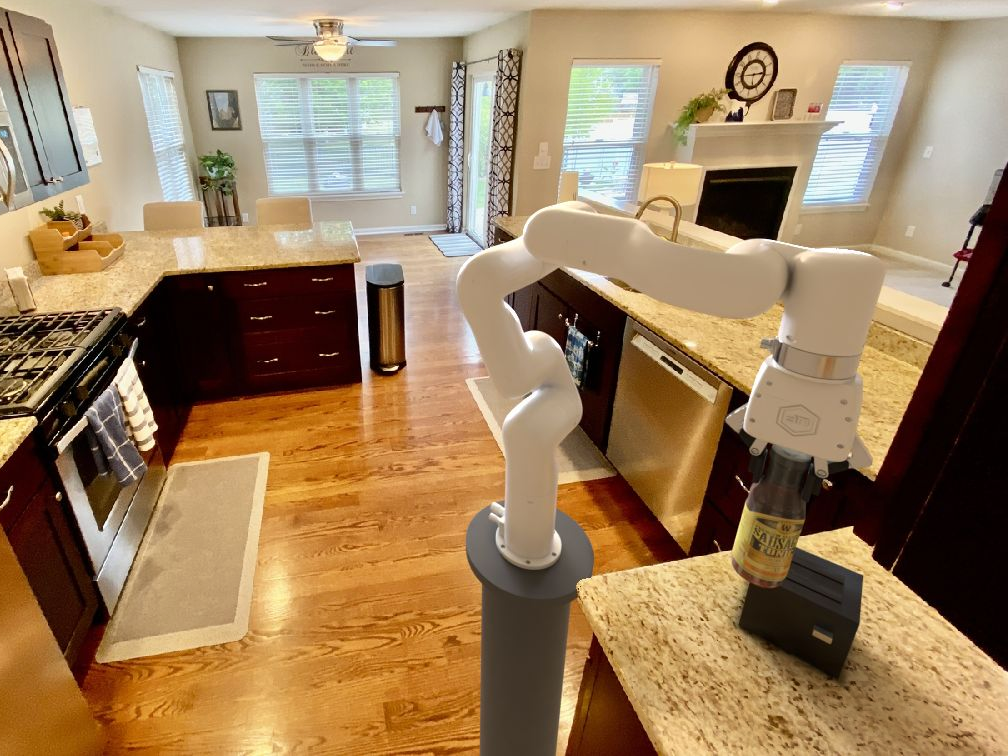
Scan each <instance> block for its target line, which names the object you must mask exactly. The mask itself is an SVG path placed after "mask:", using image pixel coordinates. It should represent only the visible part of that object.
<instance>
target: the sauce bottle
mask: <svg viewBox="0 0 1008 756" xmlns="http://www.w3.org/2000/svg"><path fill="white" fill-rule="evenodd" d="M768 452H769V453H768V454H769V457H770V458H769V462H768V464H767V467H766V470H765V474H764V475H761V478H760V481H759V483H753V482H752V484H751V486H750V488H749V492H748V496H747V498H746V499H745V502H744V506H743V510H742V513H741V518H740V521H739V525H738V528H737V532H736V536H735V539H734V543H733V545H732V546H733V547H732V551H731V566H732V567H733V569H734V571H735V573H736V574H737V575H738V576H739V577H741V578H742V579H744V580H745V581H746V582H748V583H749V582H750V583H752V584H754V585H757V586H760V587H764V588H774V587H777V586H780V585H781V584H782V583H783V580H784V579H785V578H786V576H787V573H788V570H789V567H790V564H791V561H792V558H793V554H794V551H795V548H796V547H797V544H798V543H799V539H800V535H801V533H802V530H803V527H804V523H805V520H806V509H807V502H805V501H803V499H802V495H803V491H804V487H803V486H804V479H805V477H806V473H807V470H809V469H810V465H811V464H812V459H813V458H812V457H813V456H810V455H807V454H804V453H800V452H797V451H794V450H791V449H788V448H785V447H781V446H778V445H775V444H772V446H771V448H770V450H769V451H768Z"/></svg>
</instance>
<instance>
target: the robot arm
mask: <svg viewBox="0 0 1008 756" xmlns="http://www.w3.org/2000/svg"><path fill="white" fill-rule="evenodd" d="M560 267H565V268H569V269H574V270H578V271H583V272H587V273H591V274H595V275H599V276H602V277H607V278H611V279H616V280H618V281H621V282H623V283H625V284H626V285H627V286H629V287H630V288H632V289H634V290H636V291H638V292H640V293H641V294H643V295H645V296H647V297H649V298H651V299H653V300H655V301H657V302H660V303H662V304H665V305H668V306H672V307H676V308H679V309H683V310H687V311H690V312H694V313H699V314H703V315H707V316H712V317H714V318H715V317H716V318H722V319H728V320H747V319H752V318H755V317H759V316H761V315H763V314H765V313H767V312H768V311H769V310H771V309H772V308H773V307H774V306H775V305H776V303H777V302H781V303H783V305H784V306H783V312H782V315H781V321H780V324H779V328H778V329H779V330H778V333H777V336H774V338H773V337H770V338H768V337H761V342H760V346H759V348H760V349H765V350H767V351H769V352H770V354H771V355H768V356H767V357H766V358H765V359H764V360H763V362H762V364H761V365H760V368H759V370H758V372H757V374H756V377H755V380H754V382H753V386H752V389H751V392H750V395H749V399H748V402H746V403H745V404H743V405H742V406H740V407H738V408H736V409H735V410H733V411H732V412H730V413H728V414H727V416H726V418H725V420H724V421H725V423H726V424H727V425H728V427H730V428H731V429H732V430H733V431H734V432H736V433H737V434H738V436H739V438H740V439H741V440H742V442H743V443H744V444H745V445H746V446H747V447H748V449H749V453H750V454H751V456H750V459H749V464H748V469H747V471H748V472H749V473H753V475H752V479H751V483H752V484H753V483H759V481H760V478H761V477H762V476H763V472H764V468H765V464H766V460H767V455H768V452H769V449H767V447H768V446H767V445H768V443H769V444H772V445H773V444H775V445H778V446H781V447H785V448H788V449H791V450H794V451H797V452H800V453H804V454H807V455H810V456H811V457H813V462H812V463H811V464H810V467H809V468H808V473H807V476H806V480H805V483H804V487H803V490H804V491H803V495H802V499H803V501H805V502H806V503H809V502H810V499H811V495H814V496H817V497H819V495H820V492H821V488H822V485H823V481H824V479H826V478H828V476H829V475H833V474H836V473H840V472H845V471H847V470H849V469H853V470H854V469H862V468H869V467H872V466H873V462H874V461H873V456H872V454H871V453H870V451H869V450H868V448H867V447H866V445H865V443H864V441H863V440H862V438H861V437H860V435H859V434H858V431H857V430H858V425H859V420H860V416H861V412H862V405H863V397H864V381H863V376H862V375H861V374H860V373H859V372H858V369H859V366H860V362H861V359H862V355H863V351H864V349H865V346H866V342H867V339H868V335H869V331H870V329H871V326H872V325H871V324H872V321H873V318H874V315H875V311H876V307H877V305H878V301H879V298H880V294H881V291H882V288H883V284H884V282H885V277H886V272H887V270H886V269H887V267H886V265H885V263H884V261H883V260H882V259H880V258H879V257H877V256H875V255H873V254H870V253H866V252H862V251H857V250H848V249H839V248H837V249H836V248H818V249H817V248H816V249H815V248H810V247H804V246H799V245H796V244H795V245H794V244H790V243H785V242H782V241H777V240H772V239H766V238H749V239H746V240H743V241H740V242H738V243H736V244H734V245H733V246H731V247H730V248H729V249H727V250H726V251H718V250H713V249H712V250H711V249H706V248H700V247H694V246H690V245H686V244H680V243H677V242H673V241H671V240H667V239H665V238H663V237H661V236H659V235H657V234H655V233H654V232H653V231H652V230H651V229H650V227H649V226H648V225H647V224H646V223H645V222H644V221H642V220H640V219H638V218H632V217H624V216H617V215H611V214H605V213H599V212H598V211H597V210H596V209H595V208H594V207H593V206H591V205H590V204H588V203H586V202H583V201H579V200H570V201H565V202H561V203H557V204H553V205H549V206H546V207H543V208H541V209H539V210H537V211H536V212H534V213H533V214H532V215H530V217H529V218H528V219H527V221H526V223H525V225H524V227H523V231H522V235H521V236H519V237H517V238H515V239H513V240H510V241H507V242H504V243H501V244H498V245H494V246H492V247H489V248H486V249H484V250H482V251H480V252H478V253H475V254H474V255H472V257H470V258H469V259H468V260H466V262H465V263H464V264H463V265H462V266H461V267H460V269H459V272H458V273H457V276H456V281H455V296H456V300H457V303H458V306H459V308H460V310H461V313H462V314H463V316H464V318H465V320H466V322H467V324H468V325H469V327H470V329H471V332H472V335H473V337H474V340H475V343H476V346H477V348H478V351H479V354H480V357H481V359H482V362H483V364H484V367H485V369H486V373H487V375H488V378H489V380H490V382H491V384H492V387H493V388H494V389H495V391H496V393H497V394H498V395H499V396H500V397H502V398H504V399H507V400H518V399H521V398H523V397H525V396H526V395H528V394H530V393H531V394H530V395H529V396H528V397H526V398H525V399H523V400H522V401H521V402H520V403H518V404H517V405H516V406H515V407H514V408H512V410H511V411H510V412H509V413H507V415H506V417H505V418H504V420H503V423H502V428H501V437H502V442H503V448H504V455H505V487H504V500H505V508H503V507H502V506H501V505H499V504H497V503H496V502H495V501H493V502H492V503H491V504H490V505H491V507H490V511H492V512H494V513H496V514H497V515H500V516H502V517H501V518H499V517H498V516H497V515H495V514H493V513H490V515H489V519H490V520H492V521H493V522H496V523H497V524H498V526H499V527H498V529H497V532H496V545H497V548H498V550H499V552H500V553H501V554H502V556H503V557H504V558H505V559H506V560H508V561H509V562H510V563H512V564H514V565H516V566H518V567H521V568H524V569H530V570H540V569H545V568H547V567H550V566H552V565H553V564H554V563H556V561H557V560H558V559H559V557H560V555H561V547H562V544H561V539H560V537H559V535H558V533H557V532H556V531H555V516H556V508H557V504H558V503H557V501H558V489H559V465H558V464H559V463H558V462H557V460H556V452H557V449H558V447H559V445H560V444H561V443H562V442H563V441H564V440H565V439H566V437H568V435H569V434H570V433H571V432H573V430H574V429H575V428H577V426H578V425H579V424H580V422H581V420H582V417H583V410H584V409H583V404H582V403H583V402H582V399H581V396H580V393H579V391H578V388H577V385H576V382H575V380H574V377H573V374H572V372H571V369H570V367H569V364H568V361H567V358H566V356H565V353H564V352H563V350H562V348H561V345H559V343H558V342H557V341H556V340H555V339H554V338H553V337H552V336H551V335H550V334H547V333H546V332H544V331H540V330H529V331H525V332H524V330H523V327H522V324H521V320H520V318H519V317H518V314H517V313H516V311H515V310H514V309H513V308H512V306H510V305H509V303H507V302H506V301H505V298H506V297H507V296H508V295H510V294H512V293H514V292H517V291H519V290H521V289H523V288H526V287H528V286H529V285H530V286H531V285H532V284H534V283H536V282H538V281H540V280H541V279H543V278H545V277H546V276H548V275H549V274H551V273H553V272H554V271H556V270H557V269H558V268H559V269H560Z"/></svg>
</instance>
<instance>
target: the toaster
mask: <svg viewBox="0 0 1008 756" xmlns="http://www.w3.org/2000/svg"><path fill="white" fill-rule="evenodd" d="M863 586H864V575H863V574H861V573H858V572H856V571H854V570H852V569H850V568H847V567H844V566H843V565H841V564H840V565H839V564H837V563H835V562H833V561H830V560H828V559H826V558H823V557H821V556H818V555H816V554H815V553H812V552H809V551H807V550H804V549H802V548H799V547H797V546H796V548H795V551H794V554H793V558H792V561H791V564H790V567H789V570H788V573H787V576H786V578H785V579H784V580H783V583H782V584H781V585H780V586H777V587H774V588H764V587H760V586H757V585H754V584H752V583H750V582H749V581H748V586H747V591H746V594H745V597H744V602H743V606H742V609H741V612H740V617H739V620H738V624H737V625H738V627H740V628H742V629H743V630H746V631H747V632H749V633H751V634H753V635H755V636H757V637H758V638H760V639H761V640H764V641H766V642H768V643H769V644H771V645H773V646H774V647H776V648H779V649H780V650H782V651H784V652H786V653H788V654H790V655H791V656H793V657H795V658H797V659H799V660H800V661H803V662H804V663H806V664H808V665H810V666H811V667H814V668H815V669H817V670H819V671H821V672H822V673H825V674H826V675H828V676H830V677H832V678H834V679H835V680H837V681H839V680H840V676H841V675H842V672H843V669H844V666H845V664H846V661H847V658H848V656H849V654H850V650H851V648H852V646H853V643H854V640H855V638H856V635H857V632H858V629H859V627H860V624H861V614H862V613H861V611H862V600H863V599H862V598H863Z"/></svg>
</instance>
